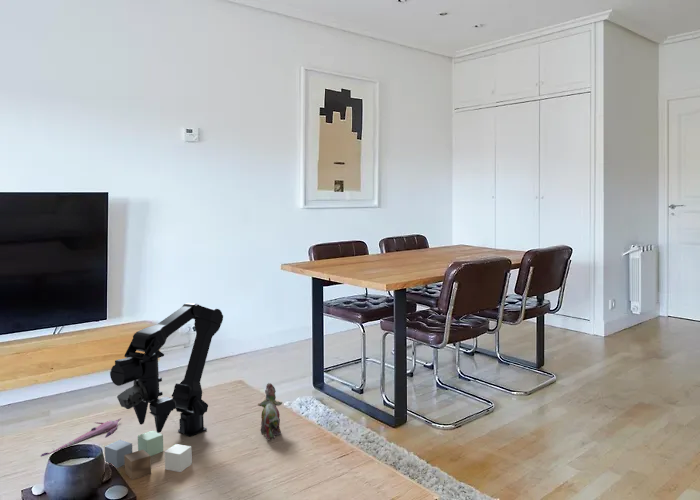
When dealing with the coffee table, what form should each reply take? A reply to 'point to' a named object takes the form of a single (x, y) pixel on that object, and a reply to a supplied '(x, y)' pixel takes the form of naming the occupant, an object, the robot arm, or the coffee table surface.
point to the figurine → (270, 413)
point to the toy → (93, 433)
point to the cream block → (178, 457)
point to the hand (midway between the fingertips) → (150, 428)
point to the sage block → (150, 442)
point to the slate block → (117, 452)
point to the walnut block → (137, 464)
